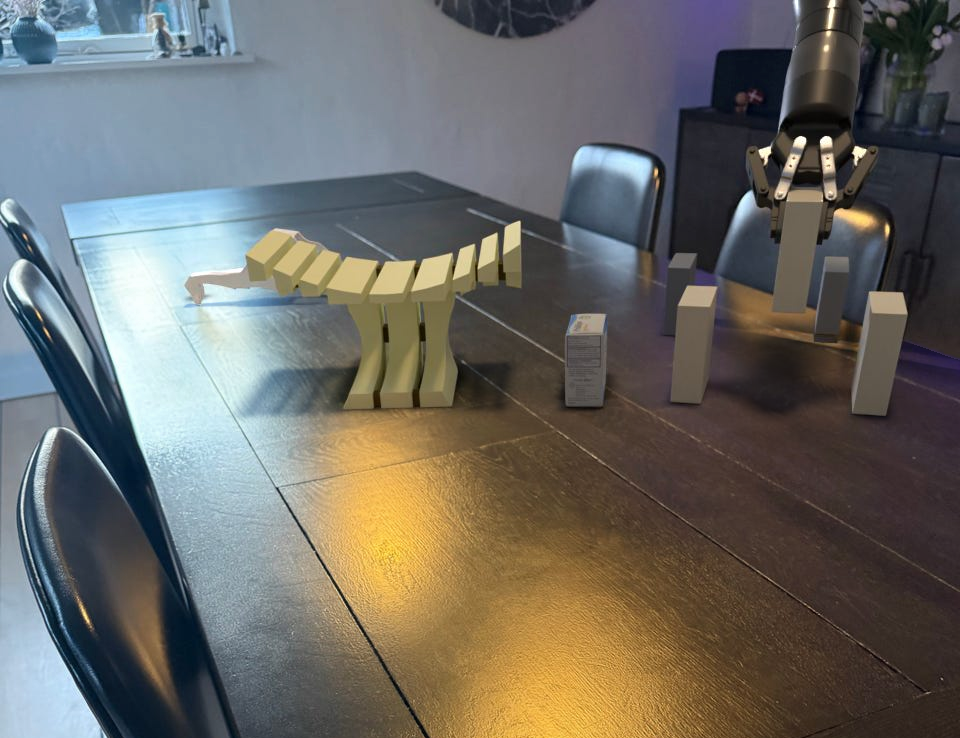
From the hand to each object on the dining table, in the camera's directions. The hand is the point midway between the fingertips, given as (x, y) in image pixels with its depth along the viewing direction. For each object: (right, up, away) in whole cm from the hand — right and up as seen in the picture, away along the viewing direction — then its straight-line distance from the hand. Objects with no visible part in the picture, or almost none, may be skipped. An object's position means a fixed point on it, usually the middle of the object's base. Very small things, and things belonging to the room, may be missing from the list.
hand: (799, 239), depth 97 cm
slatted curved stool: (-43, -10, +20) cm, 49 cm away
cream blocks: (+1, -13, +12) cm, 18 cm away
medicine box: (-21, -13, +14) cm, 28 cm away
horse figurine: (-68, +14, +56) cm, 89 cm away
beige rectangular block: (+1, -5, +6) cm, 7 cm away
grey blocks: (+4, +1, +33) cm, 33 cm away
